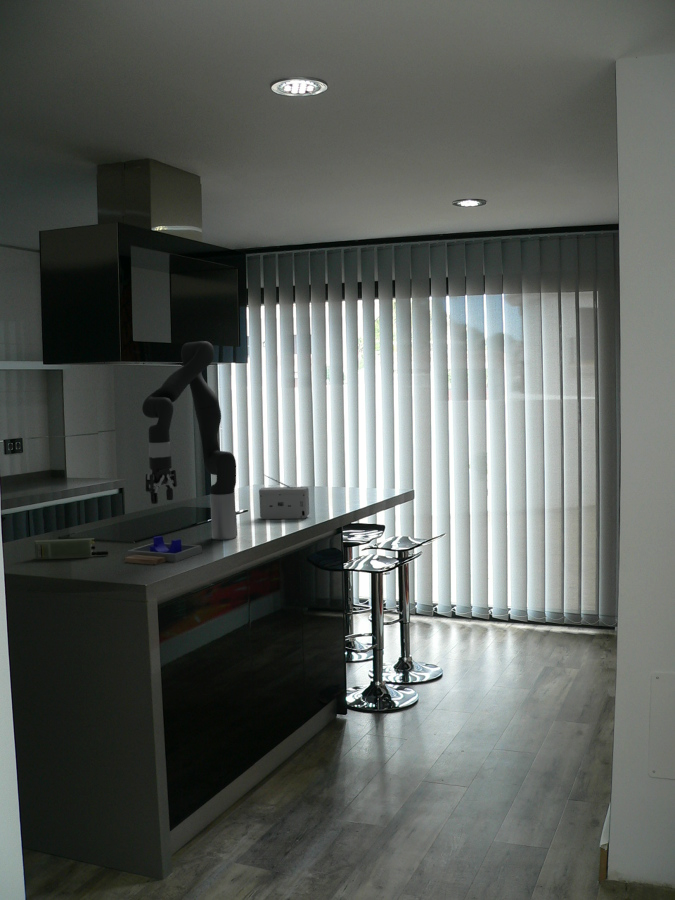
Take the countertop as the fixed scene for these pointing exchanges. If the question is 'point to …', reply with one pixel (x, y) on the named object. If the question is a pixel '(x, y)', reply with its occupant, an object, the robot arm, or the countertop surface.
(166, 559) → the grey shallow tray
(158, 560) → the walnut pad
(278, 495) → the stereo radio cassette player
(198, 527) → the countertop surface
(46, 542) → the handheld radio
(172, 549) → the cable clip
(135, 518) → the countertop surface
